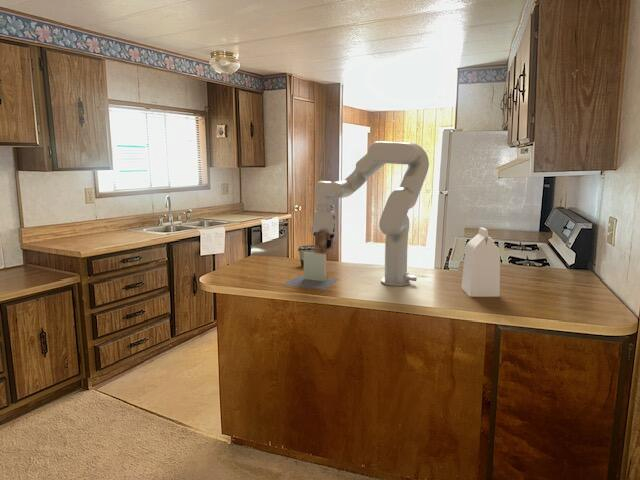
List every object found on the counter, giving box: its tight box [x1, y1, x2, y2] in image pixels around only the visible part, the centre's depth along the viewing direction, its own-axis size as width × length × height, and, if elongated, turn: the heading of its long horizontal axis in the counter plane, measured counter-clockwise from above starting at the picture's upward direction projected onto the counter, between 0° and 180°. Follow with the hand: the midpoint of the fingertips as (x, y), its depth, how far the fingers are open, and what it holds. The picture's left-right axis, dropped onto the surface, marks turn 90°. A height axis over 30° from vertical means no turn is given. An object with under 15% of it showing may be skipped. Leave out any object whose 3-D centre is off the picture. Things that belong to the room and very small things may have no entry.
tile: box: [303, 252, 327, 281], centre depth 200 cm, size 10×2×12 cm, turn 67°
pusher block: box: [314, 232, 334, 253], centre depth 209 cm, size 4×12×9 cm, turn 157°
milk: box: [461, 227, 501, 298], centre depth 180 cm, size 12×12×26 cm
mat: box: [282, 274, 340, 291], centre depth 198 cm, size 20×17×1 cm
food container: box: [297, 244, 315, 268], centre depth 230 cm, size 12×6×10 cm, turn 84°
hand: (324, 247), depth 210 cm, fingers closed on pusher block, 4 cm apart
